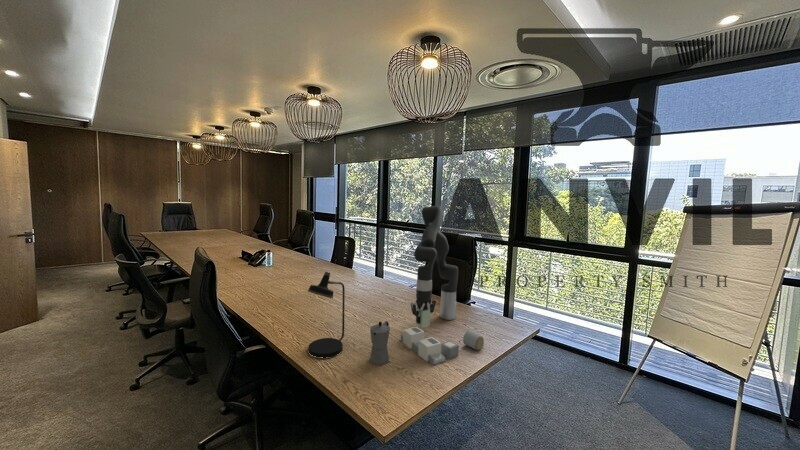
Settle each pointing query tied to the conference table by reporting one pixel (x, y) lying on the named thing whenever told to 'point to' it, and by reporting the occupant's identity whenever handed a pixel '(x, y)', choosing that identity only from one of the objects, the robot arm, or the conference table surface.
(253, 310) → the conference table surface
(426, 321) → the module
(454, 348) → the block
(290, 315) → the conference table surface
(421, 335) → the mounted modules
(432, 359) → the rail
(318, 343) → the lamp
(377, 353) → the coffeepot
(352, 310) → the conference table surface
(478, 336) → the ceramic mug
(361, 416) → the conference table surface
